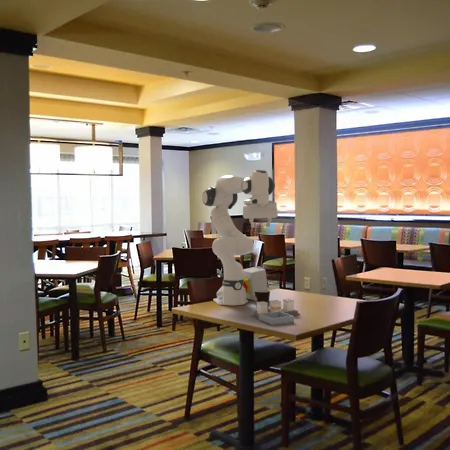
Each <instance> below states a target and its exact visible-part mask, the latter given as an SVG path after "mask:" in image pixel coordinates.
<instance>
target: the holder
mask: <svg viewBox="0 0 450 450" xmlns="http://www.w3.org/2000/svg"><path fill="white" fill-rule="evenodd" d="M281 312H284V313H286V314H289V315H292V316H294V317H295V316H300V315H301V313H299V310H297V309H294V311H284V310H283V308H281ZM268 313H270V310H268ZM250 317H251V318H253V319H254V320H255V319H256V320H257V321H259V314H258V313H257V311H253V312H252V314H251V315H250Z"/></svg>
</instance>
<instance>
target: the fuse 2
mask: <svg viewBox="0 0 450 450" xmlns="http://www.w3.org/2000/svg"><path fill="white" fill-rule="evenodd" d="M282 304H283V305H282V307H283V308H282V309H283V310H284V311H294V310H295V299H293V298H284V299H283V298H282Z"/></svg>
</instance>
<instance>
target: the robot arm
mask: <svg viewBox="0 0 450 450" xmlns="http://www.w3.org/2000/svg"><path fill="white" fill-rule="evenodd" d="M275 189H276V183H275V181H274V179H273V178H272V177H271V176H269V175H268V171H266V170H263V169H255V170H254V169H253V171H252V172H251V174H250V175H249V176H247V177H242V176H241V177H240V176H238V175H234V174H226V175H222V176H220V177H219V178H218V179H217V180H216V185H215V186H210V187H208V188H207V189H205V190H204V191H203V193H202V195H201V196H202V203H203V204H204V205H205V206H207V207H212V209H211V211H210V216H211V217H210V218H211V221H212V224H213V227H214V229H215V231H216V233H217V236H219V237H218V238H215V239H214V240H213V242H212V244H211V249H212V252H213V254H214V255H216V256H217V257H218V258H219V259H220V262H221V264H222V267H223V279H222V286H221V287H220V288H219V289H218V290H217V292H216V298H213V301H214V302H215V303H216V304H217V305H219V306H222V305H223V306H242V305H245V304H246V303H248V302H249V299H247V298H246V291H245V288H244V287H243V285H244V279H243V269H244V267H243V265H242V264H241V263H240V262H238V261H236V258H235V256H244V255H245V256H246V255H249V254H251V253H252V252H253V250H254V247H255V245H254V240H253V239H252V238H251V237H249V236H247V235H245V234H243V232H241V231H240V230H239V229H238V228H237V227H236V226H235V223H234V222H233V220H232V217H231V216H230V213H229V211H228V210H231V209H232V208H233V207H235V205H236V204H237V203H238V194H241V193H244V194H245V195H249V196H251V197H249V198H246V199H244V200H243V204H244V205H243V208H242V217H243V219H246V220H247V219H249V220H248V221H249V223H250V227H251V228H256V223H254V221H255V220H254V219H267V222H266V223H265V227H267V228H268V227H271V222H272V221H273V219H276V218H278V215H279V213H278V208H277V207H278V205H277V202H276V201H275V200H270V195H272V193H273V192H274V190H275Z"/></svg>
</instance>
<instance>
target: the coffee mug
mask: <svg viewBox="0 0 450 450" xmlns="http://www.w3.org/2000/svg"><path fill="white" fill-rule="evenodd" d="M270 294H271V290H269V289H268V290H255V299H256V301H255V306H256V307H255V308H256V309H257V302H262V301H264V302H267V303H268V307H270V296H271V295H270Z"/></svg>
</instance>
